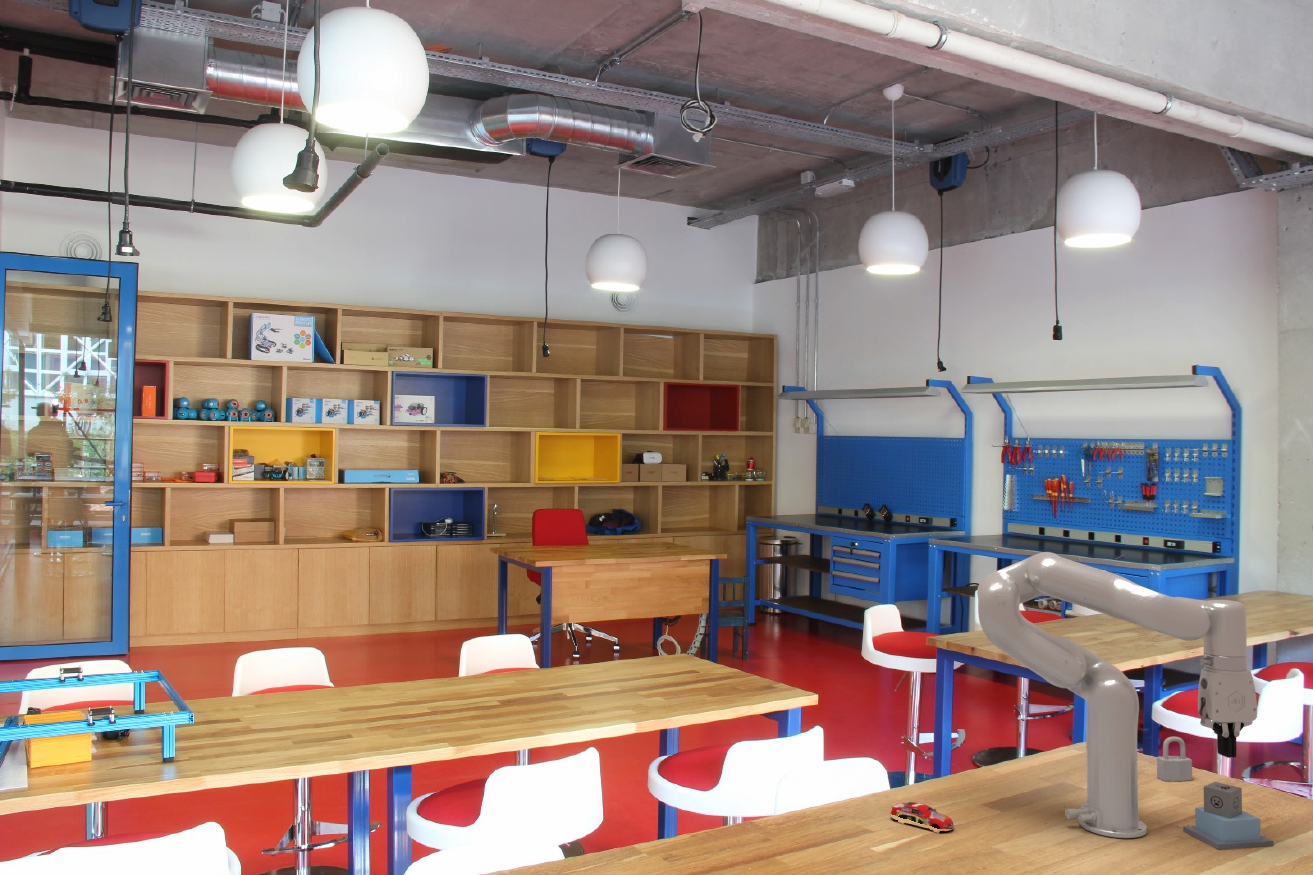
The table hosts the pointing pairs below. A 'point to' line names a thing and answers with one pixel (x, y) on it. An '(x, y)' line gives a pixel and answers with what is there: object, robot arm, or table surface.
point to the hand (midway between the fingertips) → (1227, 755)
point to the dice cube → (1223, 800)
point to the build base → (1226, 844)
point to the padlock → (1174, 763)
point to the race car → (922, 815)
